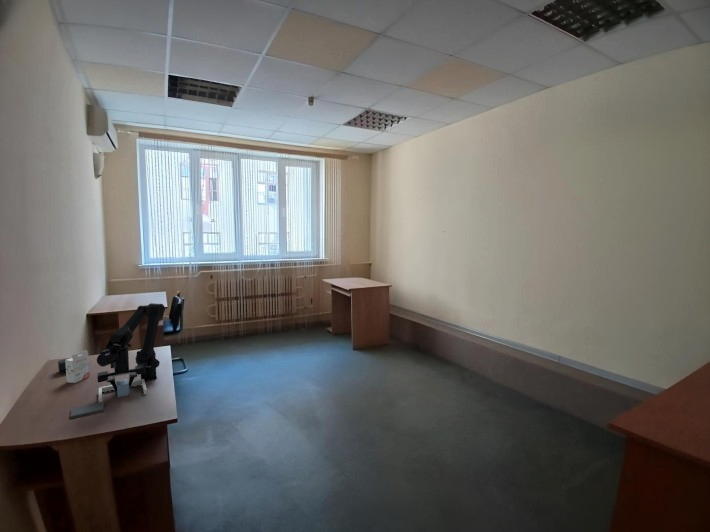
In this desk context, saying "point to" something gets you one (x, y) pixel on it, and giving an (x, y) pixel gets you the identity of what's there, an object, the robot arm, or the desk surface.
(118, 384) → the blank block
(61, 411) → the desk surface
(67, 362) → the ink cartridge box
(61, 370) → the end cap
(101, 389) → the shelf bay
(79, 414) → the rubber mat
